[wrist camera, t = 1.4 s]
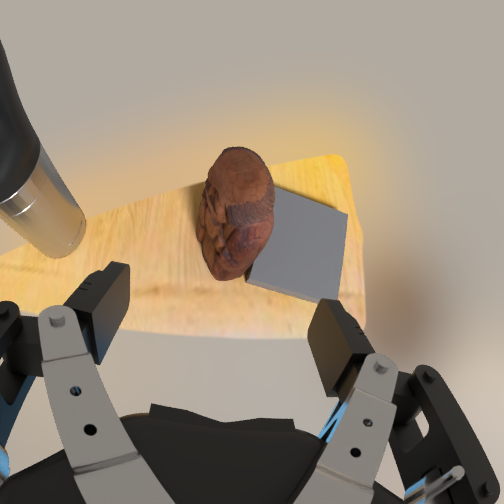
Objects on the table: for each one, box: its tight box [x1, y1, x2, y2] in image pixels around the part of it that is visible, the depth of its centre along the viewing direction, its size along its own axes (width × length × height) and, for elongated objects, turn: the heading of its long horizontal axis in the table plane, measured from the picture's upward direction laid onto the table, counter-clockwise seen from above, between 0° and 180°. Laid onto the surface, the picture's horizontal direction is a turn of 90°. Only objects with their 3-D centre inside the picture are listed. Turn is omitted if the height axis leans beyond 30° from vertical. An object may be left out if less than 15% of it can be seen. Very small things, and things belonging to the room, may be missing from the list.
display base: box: [246, 187, 348, 304], centre depth 41 cm, size 13×15×2 cm
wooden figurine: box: [197, 147, 275, 281], centre depth 32 cm, size 12×6×18 cm, turn 19°
